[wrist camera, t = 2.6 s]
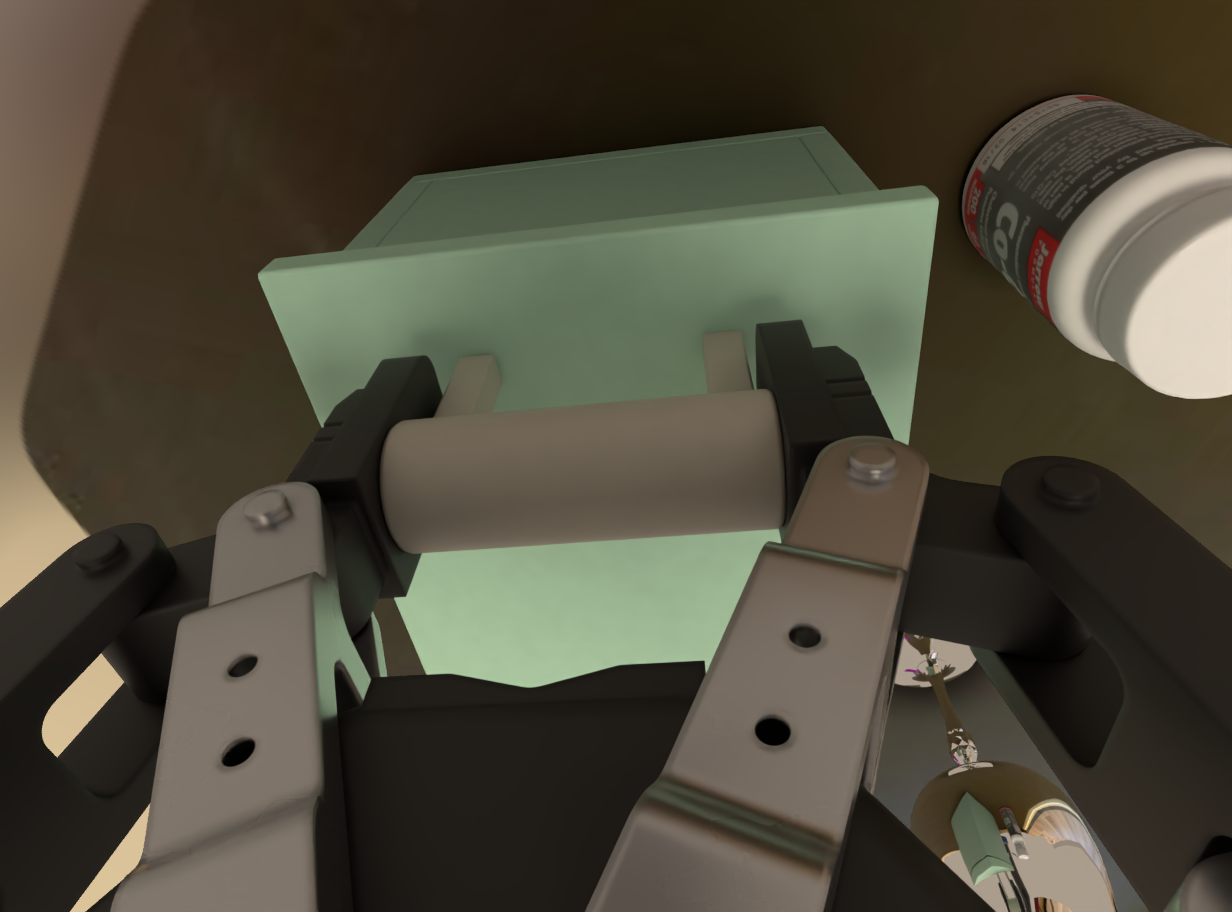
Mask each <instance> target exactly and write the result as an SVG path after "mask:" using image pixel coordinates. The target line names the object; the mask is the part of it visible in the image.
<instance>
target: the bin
mask: <svg viewBox="0 0 1232 912" xmlns="http://www.w3.org/2000/svg"><path fill="white" fill-rule="evenodd" d="M877 190H878V188H877V187H876V186H875V185H874V184H873V183H872V181H871V180H870V179H869V178H868V177H867V176H866V174H865V173H864V172H863V171H862V170H861V169H860V168H859V166H858V165H857V164H856V163H855V162H854V161H853V159H852V158H851V157H850V156H849V155H848V154H847V152H846V151H845V150H844V149H843V148H842V147H841V146H840V144H839V143H838V142H837V141H836V140H835V139H834V137H833V136H832V135H831V134H830V133H829V132H828V131H827V130H826V129H825V128H824V127H823V126H817V127H809V128H801V129H793V130H785V131H776V132H768V133H760V134H752V135H744V136H736V137H728V138H719V139H711V140H703V141H695V142H687V143H679V144H671V145H662V146H654V147H646V148H638V149H630V150H622V151H614V152H605V153H597V154H589V155H581V156H573V157H565V158H557V159H548V160H540V161H532V162H524V163H516V164H508V165H500V166H491V167H483V168H475V169H467V170H459V171H451V172H443V173H434V174H426V175H418V176H414V177H412V179H411V180H410V181H409V182H408V183H407V184H405V185H404V186H403V188H402V189H401V190H400V191H399V192H398V193H397V194H396V195H395V196H394V197H393V198H392V199H391V200H390V201H389V202H388V203H387V204H386V205H385V207H384V208H383V209H382V210H381V211H380V212H379V213H378V214H377V215H376V216H375V217H374V218H373V219H372V220H371V221H370V222H369V223H368V224H367V226H366V227H365V228H364V229H363V230H362V231H361V232H360V233H359V234H358V235H357V236H356V237H355V238H354V239H353V240H352V241H351V242H350V243H349V244H348V246H347V247H346V248H345V249H344V250H343V251H347V250H356V249H365V248H373V247H382V246H391V245H400V244H409V243H418V242H426V241H435V240H444V239H453V238H462V237H471V236H480V235H488V234H497V233H506V232H515V231H524V230H533V229H541V228H550V227H559V226H568V225H577V224H586V223H594V222H603V221H612V220H621V219H630V218H639V217H648V216H656V215H665V214H674V213H683V212H692V211H701V210H709V209H718V208H727V207H736V206H745V205H754V204H762V203H771V202H780V201H789V200H798V199H807V198H816V197H824V196H833V195H842V194H851V193H860V192H869V191H877Z"/></svg>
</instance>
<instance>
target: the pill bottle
mask: <svg viewBox="0 0 1232 912" xmlns="http://www.w3.org/2000/svg"><path fill="white" fill-rule="evenodd" d="M962 216H963V221H964V225H965V229H966V232H967V235H968V237H969V239H970V241H971V242H972V244H973V245H974V247H975V248H976V249H977V250H978V251H979V253H980V254H981V256H983V257H984V258H985V259H986V260H987V261H988V262H989V263H991V264H992V265H993V266H994V267H995V268H996V269H997V270H998V271H999V272H1000V273H1001V274H1002V275H1003V276H1004V277H1005V278H1006V279H1007V280H1008V282H1009V283H1010V284H1011V285H1012V286H1013V287H1014V288H1015V289H1016V290H1017V291H1018V292H1019V293H1020V294H1021V295H1022V296H1023V297H1025V298H1026V299H1027V301H1028V302H1029V303H1030V304H1031V305H1032V306H1033V307H1034V308H1035V309H1036V310H1037V311H1039V312H1040V313H1041V314H1042V315H1043V317H1044V318H1045V319H1046V320H1047V321H1048V322H1049V323H1050V324H1051V325H1052V326H1054V327H1055V328H1056V329H1057V330H1058V331H1059V332H1060V333H1061V334H1062V335H1063V336H1064V337H1065V338H1066V339H1068V340H1069V341H1070V342H1071V343H1073V344H1074V345H1075V346H1077V347H1078V348H1080V349H1081V350H1083V351H1085V352H1087V353H1089V354H1091V355H1094V356H1096V357H1099V358H1102V359H1106V360H1110V361H1116V362H1117V363H1118V364H1120V365H1121V366H1123V367H1124V368H1126V369H1127V370H1128V371H1129V372H1131V373H1132V374H1133V375H1135V376H1136V377H1137V378H1138V379H1140V380H1141V381H1142V382H1143V383H1144V384H1146V385H1147V386H1149V387H1150V388H1152V389H1154V390H1156V391H1158V392H1161V393H1163V394H1166V395H1170V396H1174V397H1180V398H1187V399H1199V398H1216V397H1221V396H1226V395H1230V394H1232V145H1228V144H1226V143H1223V142H1220V141H1218V140H1215V139H1213V138H1210V137H1207V136H1205V135H1202V134H1200V133H1197V132H1194V131H1192V130H1189V129H1186V128H1184V127H1181V126H1178V125H1176V124H1173V123H1170V122H1168V121H1165V120H1162V119H1160V118H1157V117H1155V116H1152V115H1150V114H1147V113H1144V112H1142V111H1139V110H1137V109H1134V108H1131V107H1128V106H1126V105H1124V104H1121V103H1119V102H1115V101H1113V100H1110V99H1107V98H1103V97H1099V96H1094V95H1069V96H1063V97H1059V98H1055V99H1052V100H1049V101H1046V102H1044V103H1041V104H1039V105H1037V106H1035V107H1033V108H1031V109H1029V110H1027V111H1025V112H1023V113H1022V114H1020V115H1018V116H1017V117H1015V118H1014V119H1012V120H1011V121H1010V122H1008V123H1007V124H1006V125H1005V126H1004V127H1002V128H1001V129H1000V130H999V131H998V132H997V133H996V134H995V135H994V136H993V137H992V138H991V139H990V140H989V141H988V143H987V144H986V145H985V146H984V148H983V149H982V151H981V152H980V153H979V155H978V157H977V158H976V160H975V162H974V164H973V166H972V168H971V170H970V172H969V174H968V177H967V180H966V183H965V187H964V191H963V199H962Z"/></svg>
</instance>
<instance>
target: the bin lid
mask: <svg viewBox="0 0 1232 912" xmlns="http://www.w3.org/2000/svg"><path fill="white" fill-rule="evenodd" d="M938 204H939V201H938V198H937V197H936V196H935V195H934V194H933V193H932V192H931V191H930V190H929V189H928V188H927V187H925V186H913V187H904V188H895V189H886V190H877V191H869V192H860V193H851V194H842V195H833V196H824V197H816V198H807V199H798V200H789V201H780V202H771V203H762V204H754V205H745V206H736V207H727V208H718V209H709V210H701V211H692V212H683V213H674V214H665V215H656V216H648V217H639V218H630V219H621V220H612V221H603V222H594V223H586V224H577V225H568V226H559V227H550V228H541V229H533V230H524V231H515V232H506V233H497V234H488V235H480V236H471V237H462V238H453V239H444V240H435V241H426V242H418V243H409V244H400V245H391V246H382V247H373V248H365V249H356V250H347V251H338V252H329V253H320V254H311V255H303V256H294V257H285V258H276V259H274V260H273V261H272V262H270V263H269V264H268V265H267V266H266V267H265V268H264V269H262V270H261V271H260V272H259V273H258V279H259V281H260V283H261V286H262V288H263V290H264V293H265V295H266V297H267V300H268V302H269V305H270V307H271V309H272V312H273V314H274V316H275V319H276V321H277V323H278V326H279V328H280V330H281V333H282V335H283V338H284V340H285V342H286V345H287V347H288V349H289V352H290V354H291V356H292V359H293V361H294V363H295V366H296V368H297V370H298V373H299V375H300V378H301V380H302V382H303V385H304V387H305V389H306V392H307V394H308V396H309V399H310V401H311V403H312V406H313V408H314V411H315V413H316V415H317V418H318V420H319V422H320V425H321V427H324V422H325V421H326V419H327V418H328V416H329V415H330V413H331V412H332V410H333V409H334V407H335V406H336V405H337V404H339V403H340V402H341V401H342V400H344V399H345V398H346V397H348V396H349V395H350V394H351V393H353V392H354V391H355V390H357V389H364V388H365V386H366V384H367V383H368V381H369V380H370V378H371V376H372V375H373V373H374V371H375V370H376V368H377V367H378V365H379V363H380V362H381V361H382V360H383V359H390V358H401V357H411V356H421V355H426V356H427V357H429V359H430V360H431V362H432V364H433V366H434V369H435V372H436V375H437V378H438V382H439V385H440V388H441V392H442V395H443V397H442V399H441V401H440V403H439V406H438V408H437V410H436V412H435V415H434V417H433V418H425V419H414V420H404V421H401V422H399V423H397V424H395V425H394V426H393V427H392V428H391V429H390V431H389V432H388V434H387V437H386V439H385V442H384V445H383V449H382V454H381V461H380V495H381V502H382V508H383V513H384V517H385V521H386V524H387V527H388V530H389V532H390V534H391V536H392V538H393V540H394V542H395V543H396V544H397V546H398V547H399V548H400V549H402V550H403V551H405V552H408V553H411V554H419V553H422V555H421V557H420V560H419V563H418V566H417V568H416V571H415V574H414V577H413V579H412V582H411V585H410V588H409V590H408V593H407V596H406V597H396V598H394V599H395V601H396V604H397V606H398V608H399V611H400V613H401V615H402V618H403V620H404V623H405V625H406V627H407V630H408V632H409V634H410V637H411V639H412V641H413V644H414V646H415V648H416V651H417V653H418V655H419V658H420V660H421V663H422V665H423V667H424V670H425V672H426V674H427V675H430V674H449V673H451V674H456V675H462V676H467V677H472V678H478V679H483V680H488V681H494V682H499V683H504V684H510V685H515V686H520V687H528V688H529V687H538V686H543V685H546V684H550V683H554V682H558V681H561V680H565V679H569V678H573V677H576V676H580V675H584V674H588V673H591V672H595V671H599V670H603V669H606V668H610V667H614V666H617V665H627V664H646V663H666V662H686V661H705V671H706V672H707V670H708V668H709V666H710V663H711V661H712V659H713V657H714V654H715V652H716V650H717V648H718V645H719V643H720V641H721V639H722V636H723V634H724V632H725V630H726V627H727V625H728V623H729V621H730V618H731V616H732V614H733V612H734V609H735V607H736V605H737V603H738V600H739V598H740V596H741V594H742V591H743V589H744V587H745V585H746V582H747V580H748V578H749V576H750V573H751V571H752V569H753V567H754V564H755V562H756V560H757V558H758V555H759V553H760V551H761V549H762V548H763V546H764V545H765V543H766V542H768V541H771V542H776V543H781V537H780V533H779V528H780V527H782V526H783V523H784V520H785V512H786V477H785V461H784V450H783V440H782V432H781V425H780V419H779V413H778V408H777V404H776V400H775V397H774V395H773V393H772V391H770V390H767V389H757V390H756V343H755V333H756V324H758V323H768V322H779V321H789V320H799V319H801V320H802V321H803V324H804V326H805V329H806V331H807V334H808V337H809V339H810V342H811V344H812V347H813V348H814V347H825V346H838V347H839V348H841V349H842V350H843V351H845V352H846V353H848V354H849V355H851V356H852V357H854V358H855V359H856V360H857V362H858V364H859V366H860V368H861V370H862V372H863V374H864V376H865V381H867V383H868V385H869V387H870V389H871V391H872V395H874V397H875V399H876V402H877V404H878V406H879V408H880V410H881V412H882V414H883V416H884V418H885V421H886V423H887V425H888V427H889V429H890V431H891V433H892V435H893V437H894V440H897V441H900V442H902V443H904V444H907V445H908V443H909V435H910V427H911V420H912V412H913V404H914V396H915V388H916V380H917V372H918V364H919V356H920V348H921V340H922V332H923V324H924V316H925V308H926V300H927V292H928V284H929V276H930V268H931V260H932V252H933V244H934V236H935V228H936V220H937V212H938Z"/></svg>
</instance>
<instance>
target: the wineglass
mask: <svg viewBox="0 0 1232 912" xmlns="http://www.w3.org/2000/svg"><path fill="white" fill-rule="evenodd" d="M976 661H977V660H976V658H975V657H974V655H973V653H972V652H971V650H970V647H969V646H967V645H962V644H957V643H952V642H947V641H943V640H938V639H933V638H928V637H923V636H918V635H913V634H908V633H905V636H904V640H903V645H902V650H901V655H900V660H899V664H898V669H897V674H896V679H895V683H894V684H897V685H901V686H906V687H930V686H932V687H933V689H934V691H935V694H936V697H937V699H938V702H939V704H940V707H941V709H942V713H943V716H944V720H945V725H946V731H947V744H948V751H949V753H950V755H951V757H952V758H953V760H954V761H955V762H956V763H957V764H958V765H957V766H954V767H952V768H950V769H948V770H945V771H944V772H942V773H940V774H939V775H937V776H936V777H934V778H933V779H932V780H931V781H929V782H928V783H927V784H926V785H925V787H924V788H923V789H922V791H921V792H920V794H919V795H918V797H917V799H916V801H915V804H914V806H913V810H912V814H911V821H910V831H911V832H912V833H913V834H914V835H915V836H916V837H918V838H919V839H920V840H921V841H922V842H923V843H924V844H925V845H926V846H927V847H928V848H929V849H930V850H931V851H932V852H933V853H935V854H936V855H937V856H938V857H939V858H940V859H941V860H942V861H943V862H944V863H945V864H946V865H947V866H948V867H949V868H950V869H951V870H953V871H954V872H955V873H956V874H957V875H958V876H959V877H960V878H961V879H962V880H963V881H964V882H965V883H966V884H967V885H968V886H969V887H971V888H972V889H973V890H974V891H975V892H976V893H977V894H978V895H979V896H980V897H981V898H982V899H983V900H984V901H985V902H986V903H988V904H989V905H990V906H991V907H992V908H993V909H994V910H995V911H996V912H1118V909H1117V905H1116V901H1115V898H1114V894H1113V891H1112V887H1111V883H1110V880H1109V877H1108V874H1107V871H1106V869H1105V866H1104V863H1103V861H1102V858H1101V855H1100V853H1099V850H1098V848H1097V845H1096V843H1095V841H1094V839H1093V837H1092V835H1091V832H1090V830H1089V828H1088V826H1087V824H1086V823H1085V821H1084V820H1083V818H1082V816H1081V815H1080V813H1079V812H1078V810H1077V809H1076V807H1075V806H1074V804H1073V803H1072V802H1071V800H1070V799H1069V798H1068V797H1067V796H1066V795H1065V794H1064V793H1063V792H1062V791H1061V789H1060V788H1059V787H1057V786H1056V785H1055V784H1054V783H1052V782H1051V781H1050V780H1049V779H1047V778H1046V777H1044V776H1043V775H1041V774H1039V773H1037V772H1036V771H1033V770H1031V769H1029V768H1027V767H1024V766H1021V765H1018V764H1015V763H1009V762H1004V761H994V760H990V761H977V760H978V754H977V749H976V745H975V742H974V740H973V739H972V737H971V735H970V734H969V733H968V732H967V731H966V730H965V728H964V727H963V725H962V723H961V722H960V720H959V718H958V717H957V715H956V714H955V711H954V709H953V706H952V704H951V701H950V699H949V696H948V694H947V691H946V688H945V684H944V683H946V682H949V681H951V680H954V679H956V678H958V677H959V676H961V675H963V674H964V673H965V672H967V671H968V670H969V669H970V668H971V667H972V666H973V665H974V664H975V662H976Z"/></svg>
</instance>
